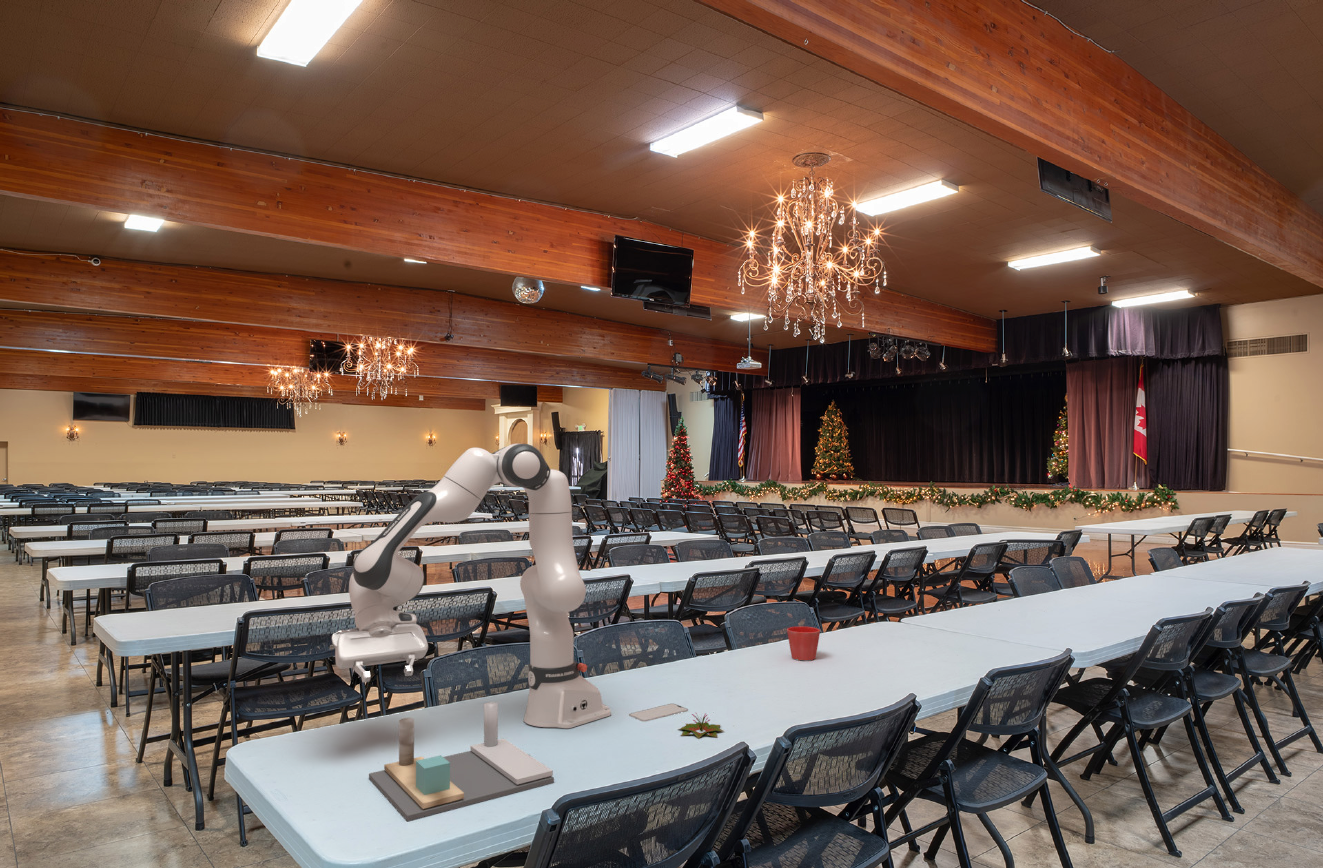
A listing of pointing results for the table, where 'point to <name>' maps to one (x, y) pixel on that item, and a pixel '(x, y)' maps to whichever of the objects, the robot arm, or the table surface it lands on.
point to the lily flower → (701, 728)
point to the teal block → (432, 775)
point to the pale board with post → (507, 752)
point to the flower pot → (803, 642)
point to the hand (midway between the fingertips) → (388, 677)
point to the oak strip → (406, 771)
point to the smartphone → (658, 712)
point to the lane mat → (465, 774)
